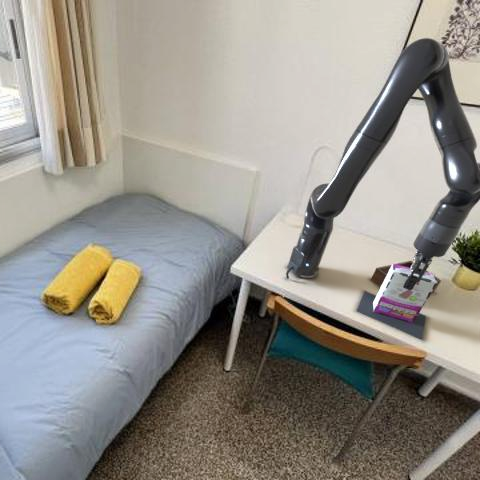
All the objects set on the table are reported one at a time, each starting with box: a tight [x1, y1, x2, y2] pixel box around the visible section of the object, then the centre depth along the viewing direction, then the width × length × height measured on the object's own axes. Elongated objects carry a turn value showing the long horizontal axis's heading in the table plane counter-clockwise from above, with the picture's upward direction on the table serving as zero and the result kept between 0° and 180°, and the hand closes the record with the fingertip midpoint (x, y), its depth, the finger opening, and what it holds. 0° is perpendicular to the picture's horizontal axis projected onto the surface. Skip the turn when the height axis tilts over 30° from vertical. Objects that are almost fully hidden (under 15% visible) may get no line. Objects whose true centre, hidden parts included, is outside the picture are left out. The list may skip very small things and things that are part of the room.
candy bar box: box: [373, 263, 438, 323], centre depth 106 cm, size 11×5×16 cm, turn 66°
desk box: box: [370, 260, 442, 294], centre depth 121 cm, size 17×12×6 cm
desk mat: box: [356, 290, 427, 340], centre depth 110 cm, size 12×18×1 cm, turn 52°
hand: (409, 281), depth 103 cm, fingers open, 8 cm apart
